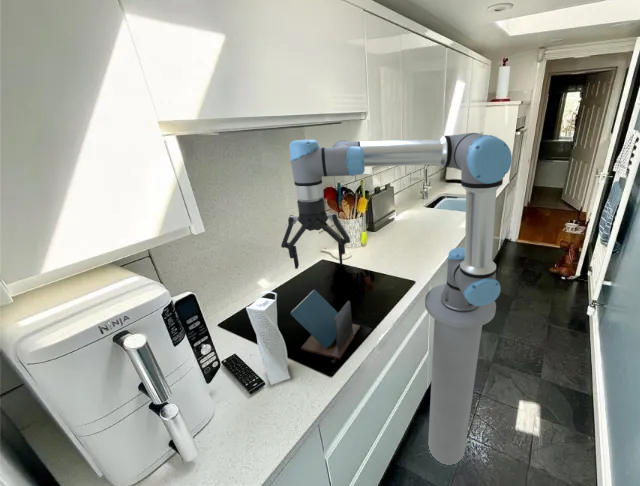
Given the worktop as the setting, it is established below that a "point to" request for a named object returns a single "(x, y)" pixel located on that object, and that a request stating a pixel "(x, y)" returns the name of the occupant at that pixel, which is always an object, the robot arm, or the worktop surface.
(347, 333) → the book rest
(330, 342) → the book
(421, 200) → the worktop surface
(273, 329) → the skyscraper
